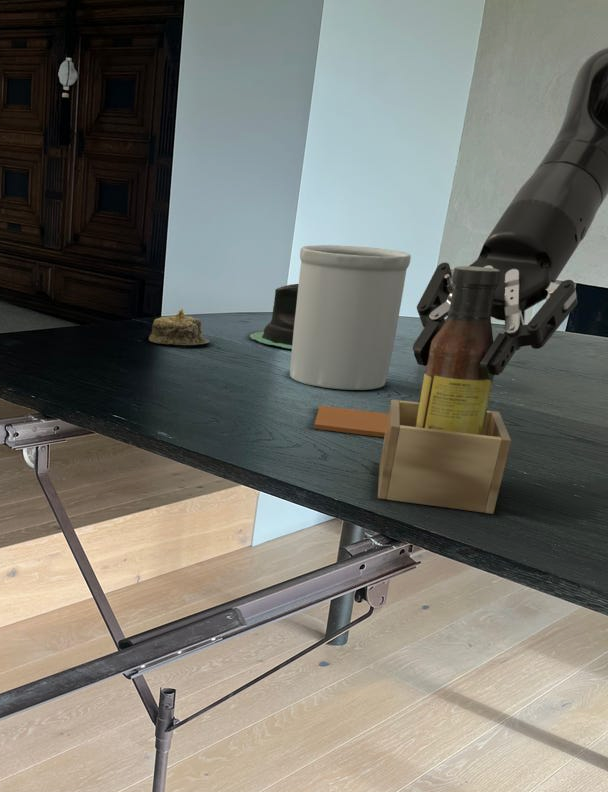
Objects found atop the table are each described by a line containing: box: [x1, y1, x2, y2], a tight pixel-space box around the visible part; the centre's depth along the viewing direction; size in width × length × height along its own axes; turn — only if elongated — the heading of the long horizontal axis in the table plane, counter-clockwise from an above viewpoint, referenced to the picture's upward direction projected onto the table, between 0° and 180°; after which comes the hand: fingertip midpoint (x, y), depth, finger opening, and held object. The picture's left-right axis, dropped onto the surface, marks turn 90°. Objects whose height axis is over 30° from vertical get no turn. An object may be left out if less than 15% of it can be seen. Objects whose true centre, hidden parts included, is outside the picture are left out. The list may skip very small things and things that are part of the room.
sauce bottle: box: [416, 265, 500, 435], centre depth 93 cm, size 7×6×20 cm
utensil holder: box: [289, 244, 412, 391], centre depth 138 cm, size 15×15×18 cm
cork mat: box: [313, 405, 389, 438], centre depth 119 cm, size 10×10×1 cm
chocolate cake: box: [249, 283, 299, 350], centre depth 167 cm, size 15×19×20 cm
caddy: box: [377, 398, 512, 515], centre depth 96 cm, size 11×12×7 cm
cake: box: [148, 308, 211, 346], centre depth 160 cm, size 10×10×5 cm
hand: (451, 366), depth 91 cm, fingers closed on sauce bottle, 6 cm apart
